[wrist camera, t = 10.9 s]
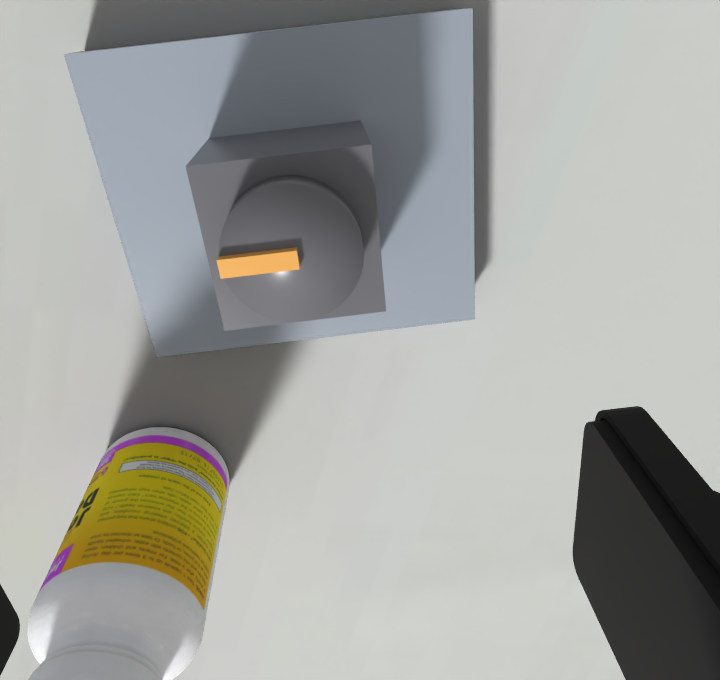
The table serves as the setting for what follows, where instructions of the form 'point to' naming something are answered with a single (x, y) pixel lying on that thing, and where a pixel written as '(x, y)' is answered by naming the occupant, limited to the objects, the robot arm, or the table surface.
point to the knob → (290, 224)
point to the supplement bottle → (134, 563)
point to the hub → (286, 111)
